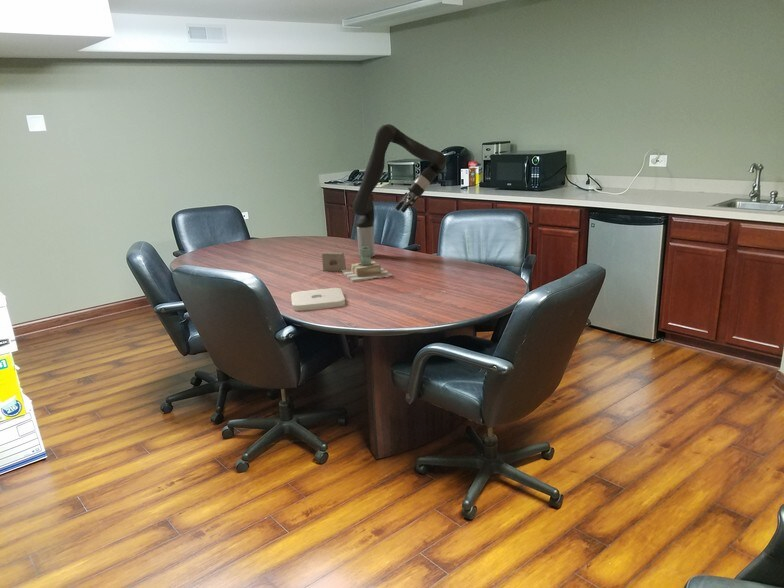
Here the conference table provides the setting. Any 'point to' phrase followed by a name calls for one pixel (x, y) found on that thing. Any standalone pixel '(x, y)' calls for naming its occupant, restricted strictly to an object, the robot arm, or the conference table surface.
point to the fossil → (333, 261)
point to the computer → (317, 299)
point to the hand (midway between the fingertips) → (399, 210)
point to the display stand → (365, 272)
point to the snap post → (365, 256)
